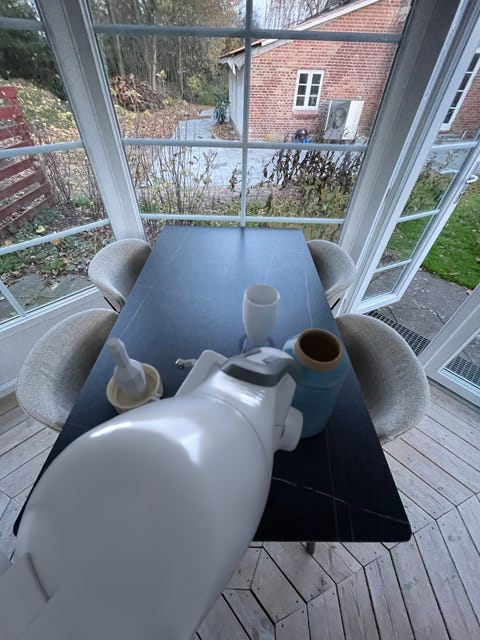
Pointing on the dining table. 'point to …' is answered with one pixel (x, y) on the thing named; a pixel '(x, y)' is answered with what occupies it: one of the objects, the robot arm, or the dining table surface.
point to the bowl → (121, 398)
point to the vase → (317, 376)
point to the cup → (260, 312)
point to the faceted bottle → (127, 371)
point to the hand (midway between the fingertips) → (165, 379)
